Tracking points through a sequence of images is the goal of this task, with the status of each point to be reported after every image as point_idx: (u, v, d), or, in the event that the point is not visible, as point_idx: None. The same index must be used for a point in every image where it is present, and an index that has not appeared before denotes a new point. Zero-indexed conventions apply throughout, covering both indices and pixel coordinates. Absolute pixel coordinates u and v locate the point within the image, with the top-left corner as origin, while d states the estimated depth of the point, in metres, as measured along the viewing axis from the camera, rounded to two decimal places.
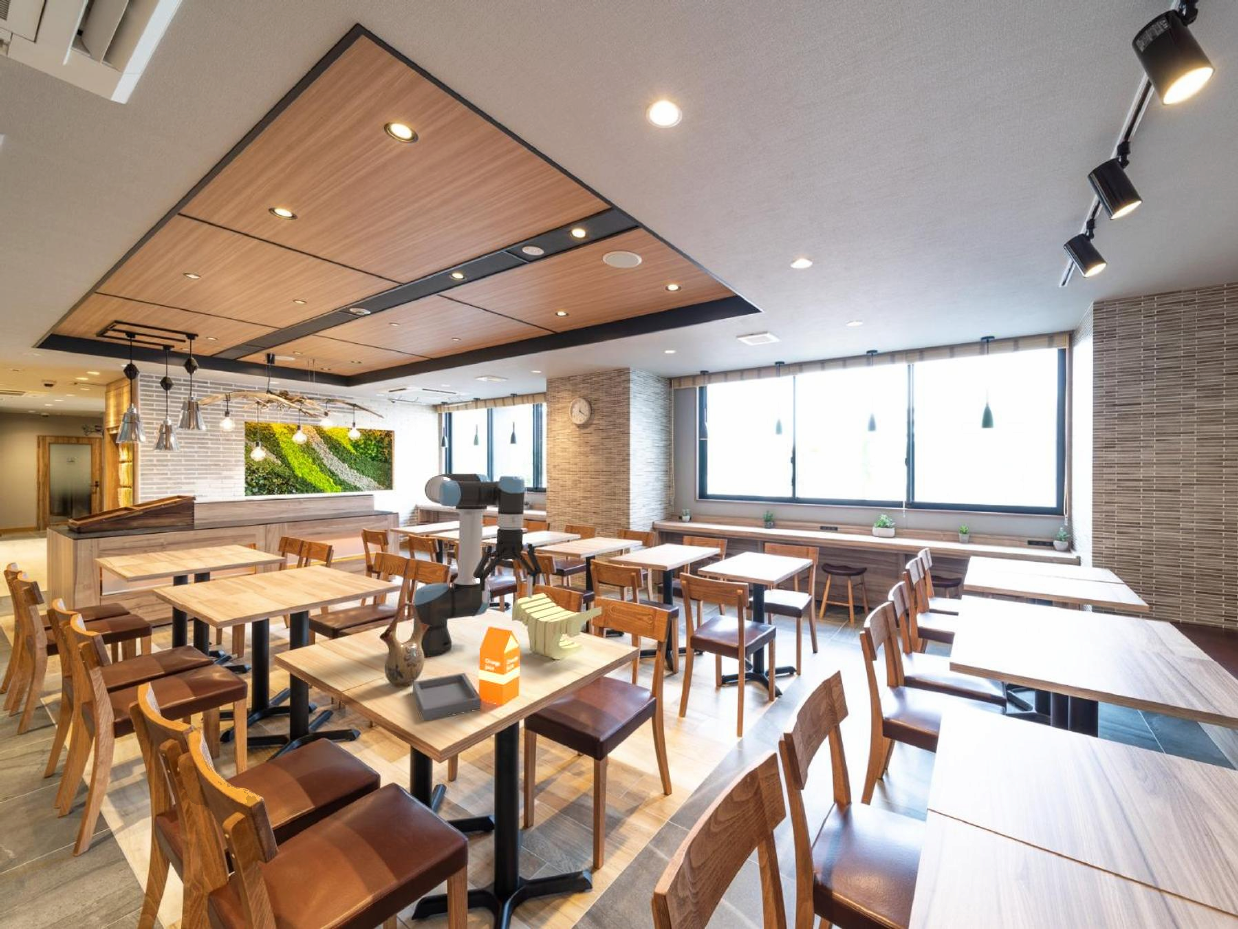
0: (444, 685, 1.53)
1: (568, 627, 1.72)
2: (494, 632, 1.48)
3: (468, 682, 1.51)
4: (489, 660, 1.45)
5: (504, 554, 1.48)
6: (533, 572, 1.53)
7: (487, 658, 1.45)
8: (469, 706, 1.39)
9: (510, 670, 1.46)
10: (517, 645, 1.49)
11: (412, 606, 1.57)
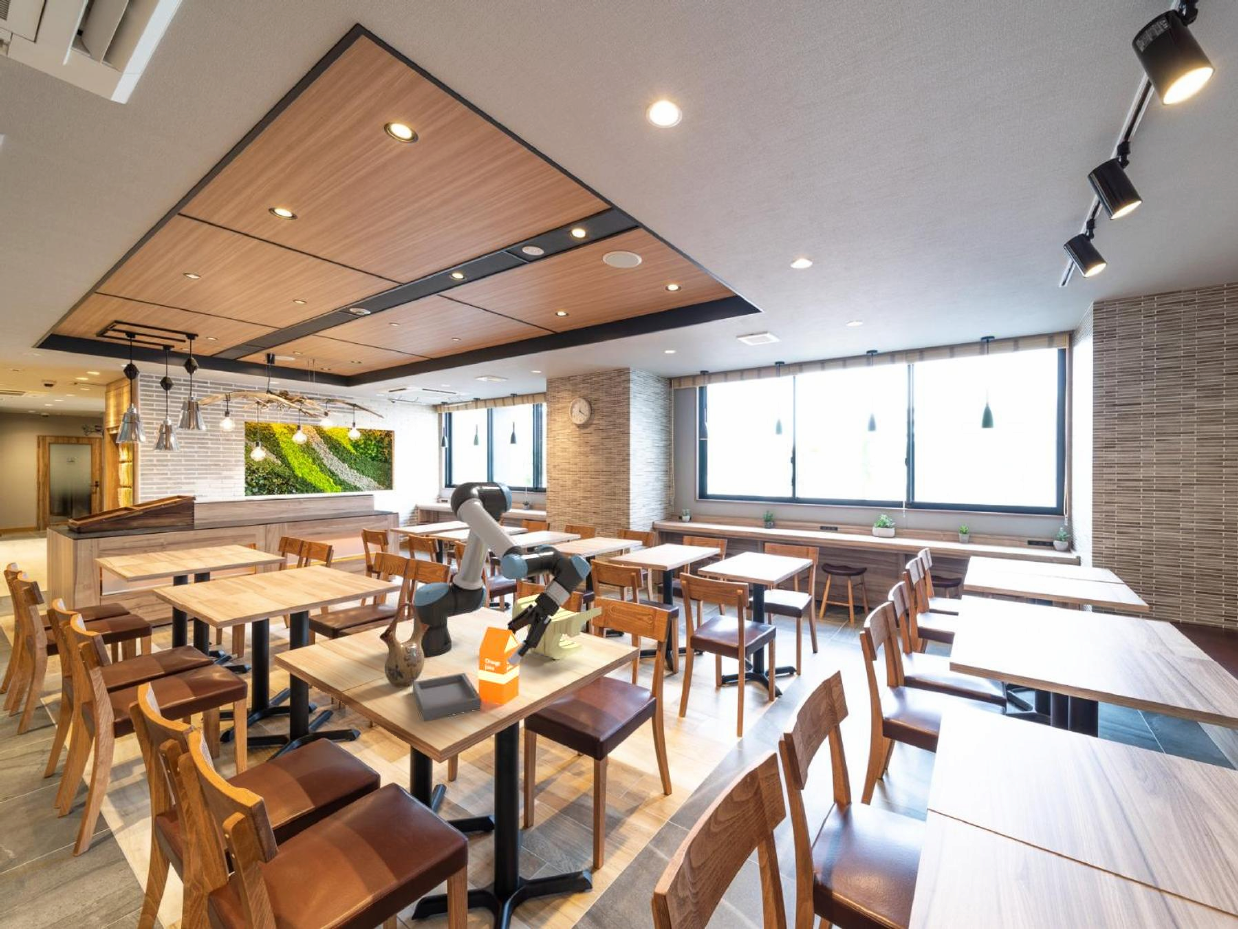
0: (444, 685, 1.53)
1: (568, 627, 1.72)
2: (493, 632, 1.48)
3: (468, 682, 1.51)
4: (489, 660, 1.45)
5: None
6: None
7: (487, 658, 1.45)
8: (469, 706, 1.39)
9: (510, 669, 1.46)
10: (516, 645, 1.49)
11: (412, 606, 1.57)
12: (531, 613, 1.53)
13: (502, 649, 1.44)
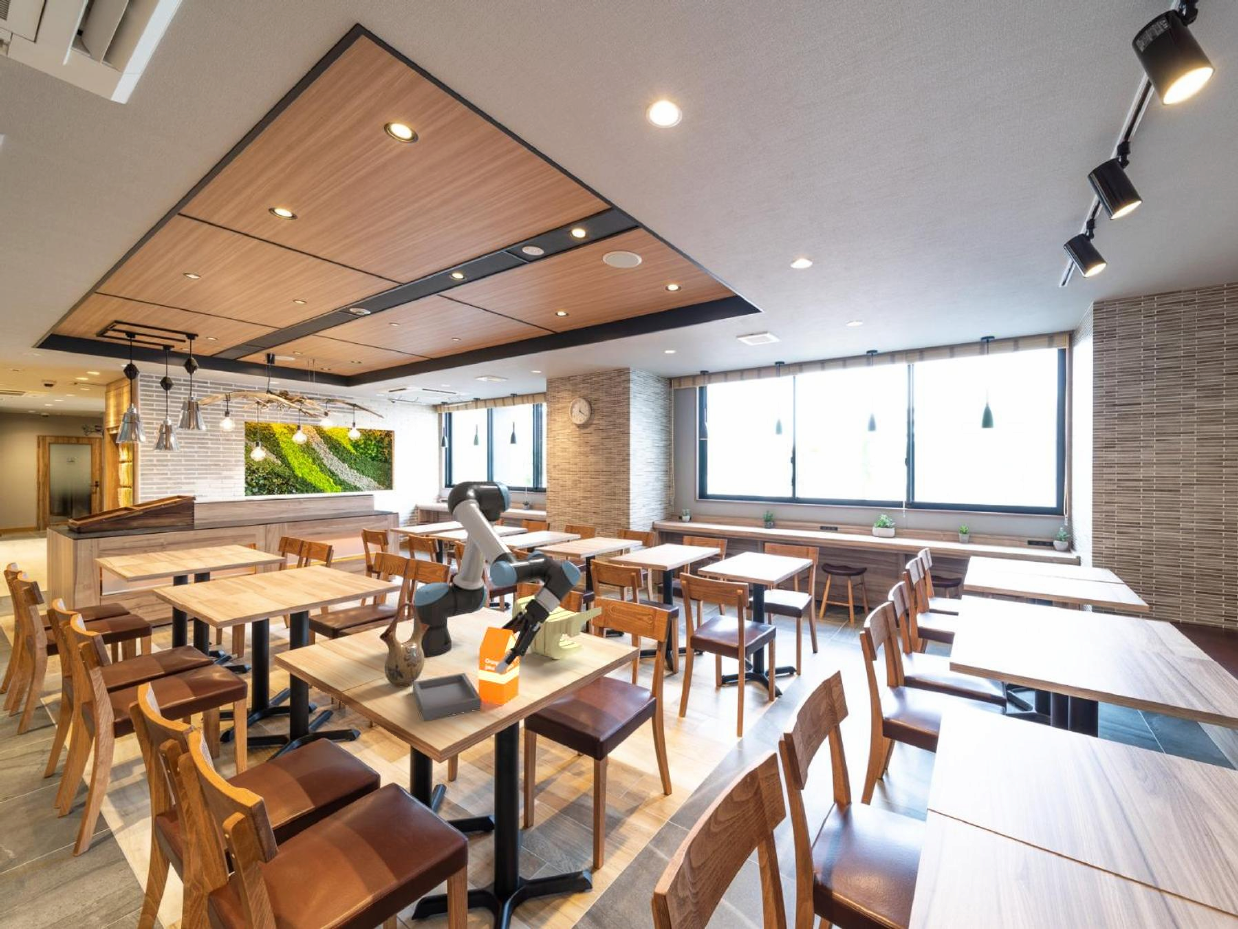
0: (444, 685, 1.53)
1: (568, 627, 1.72)
2: (494, 632, 1.48)
3: (468, 682, 1.51)
4: (489, 660, 1.45)
5: None
6: None
7: (487, 658, 1.46)
8: (469, 706, 1.39)
9: (510, 669, 1.46)
10: None
11: (412, 606, 1.57)
12: (521, 620, 1.53)
13: (502, 649, 1.44)
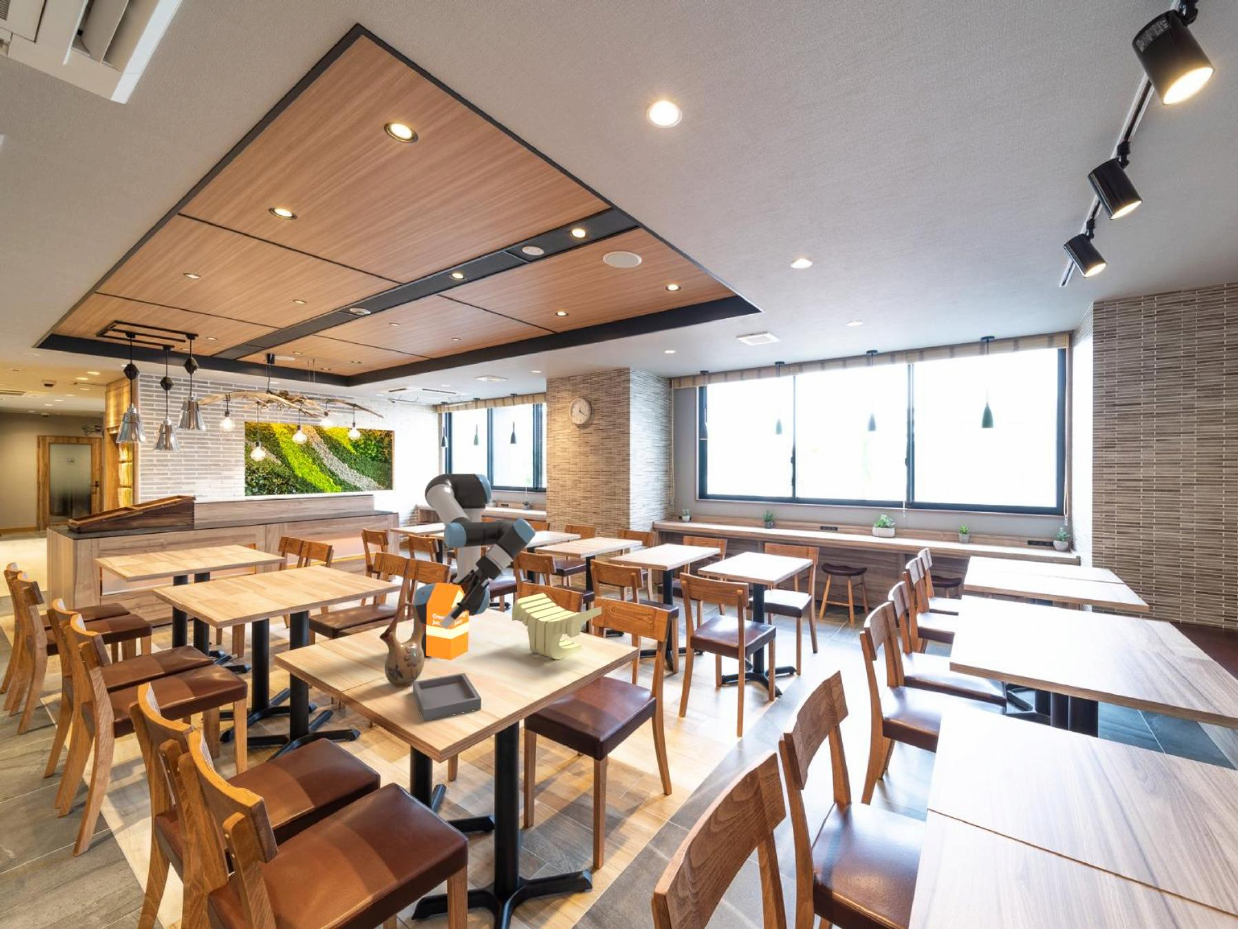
0: (444, 685, 1.53)
1: (568, 627, 1.72)
2: (442, 587, 1.46)
3: (468, 682, 1.51)
4: (436, 615, 1.43)
5: None
6: None
7: (434, 613, 1.43)
8: (469, 706, 1.39)
9: (459, 625, 1.44)
10: None
11: (412, 606, 1.57)
12: (471, 576, 1.50)
13: (450, 604, 1.42)
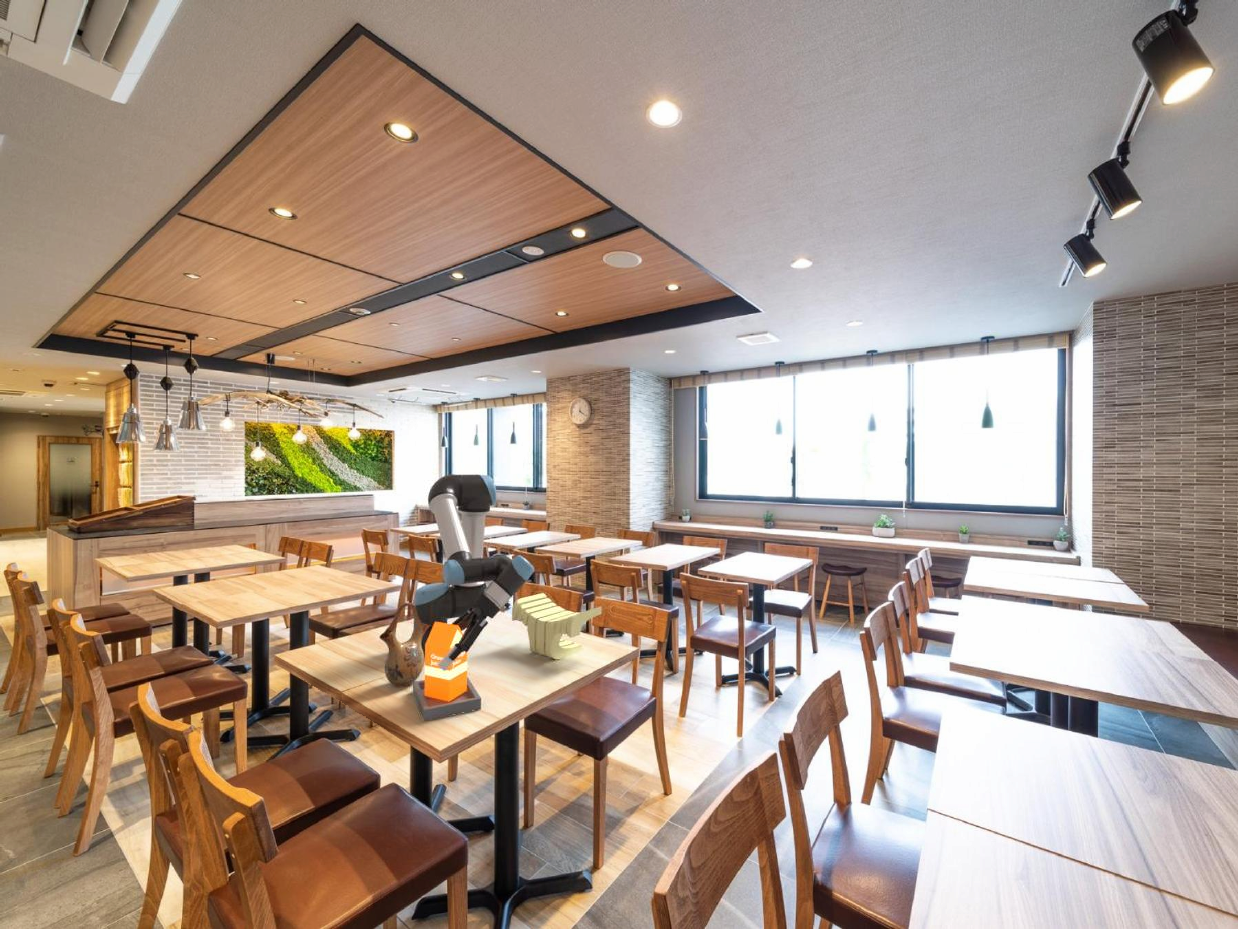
0: None
1: (568, 627, 1.72)
2: (440, 627, 1.46)
3: (468, 682, 1.51)
4: (435, 656, 1.43)
5: None
6: None
7: (433, 654, 1.43)
8: (469, 706, 1.39)
9: (457, 665, 1.44)
10: None
11: (412, 606, 1.57)
12: (470, 615, 1.50)
13: (448, 644, 1.42)
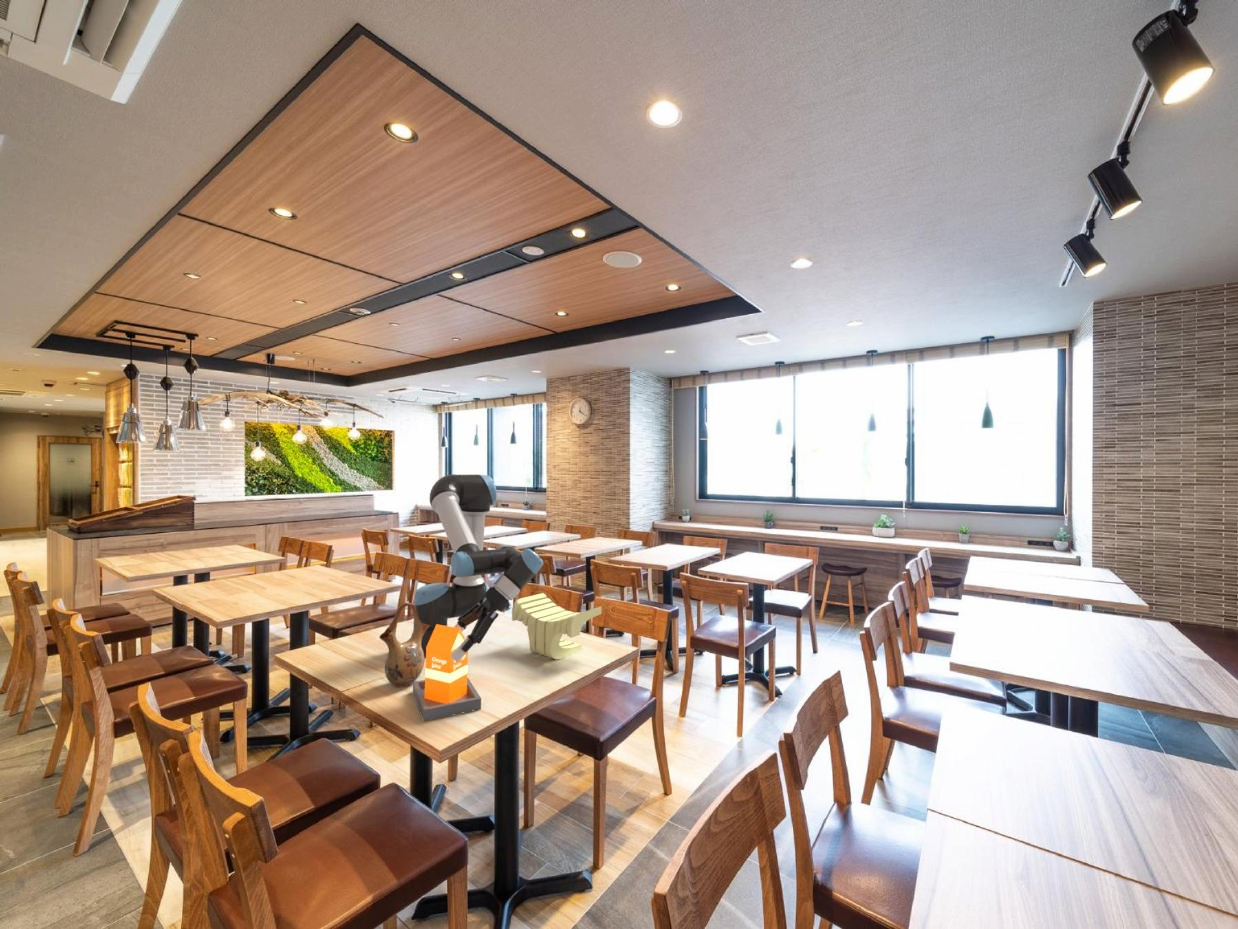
0: None
1: (568, 627, 1.72)
2: (442, 630, 1.46)
3: (468, 682, 1.51)
4: (436, 658, 1.43)
5: None
6: None
7: (434, 656, 1.43)
8: (469, 706, 1.39)
9: (458, 668, 1.44)
10: None
11: (412, 606, 1.57)
12: (480, 608, 1.51)
13: (449, 647, 1.42)
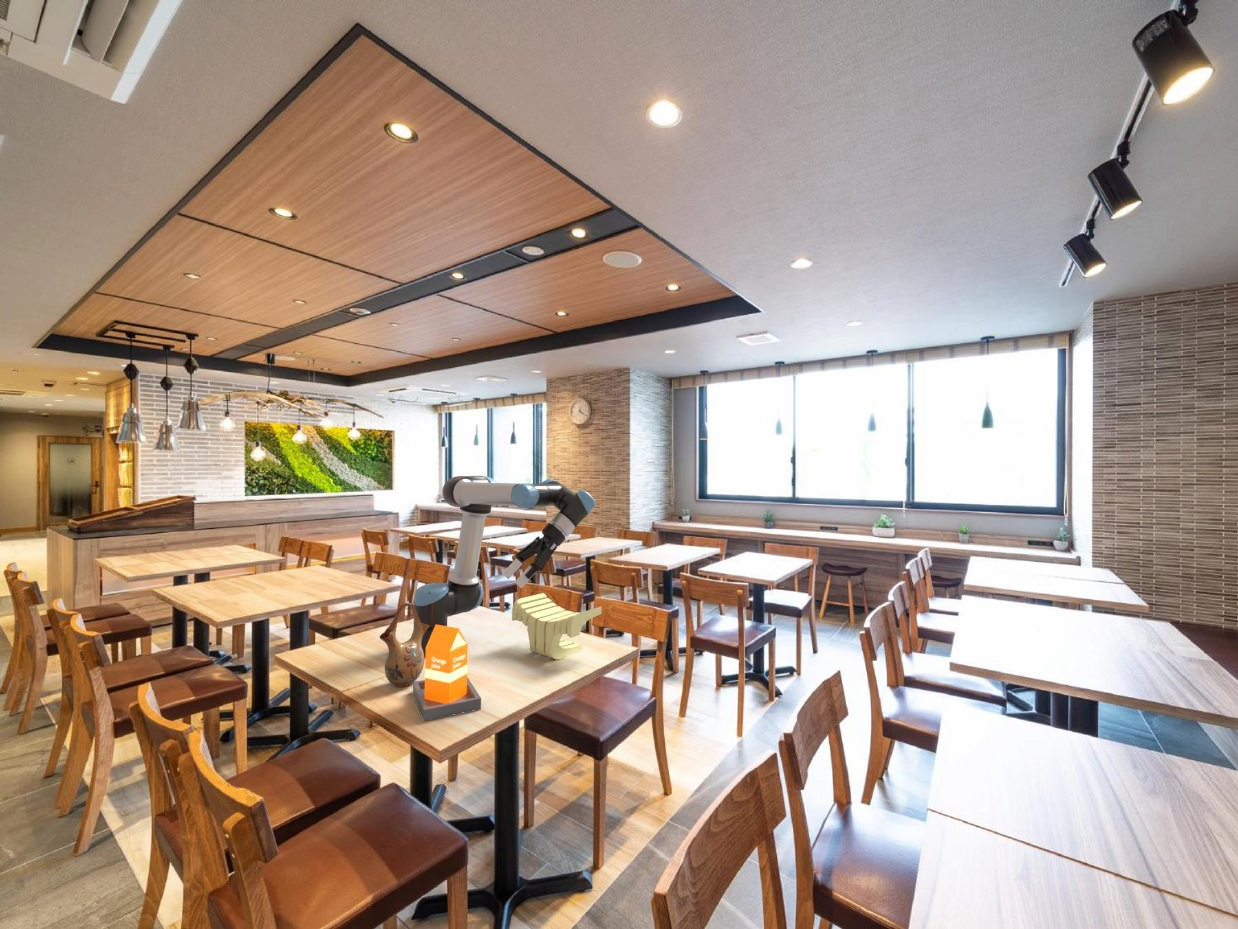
0: None
1: (568, 627, 1.72)
2: (441, 630, 1.46)
3: (468, 682, 1.51)
4: (435, 658, 1.43)
5: None
6: None
7: (433, 656, 1.43)
8: (469, 706, 1.39)
9: (457, 668, 1.44)
10: (465, 643, 1.47)
11: (412, 606, 1.57)
12: (538, 542, 1.62)
13: (448, 647, 1.42)
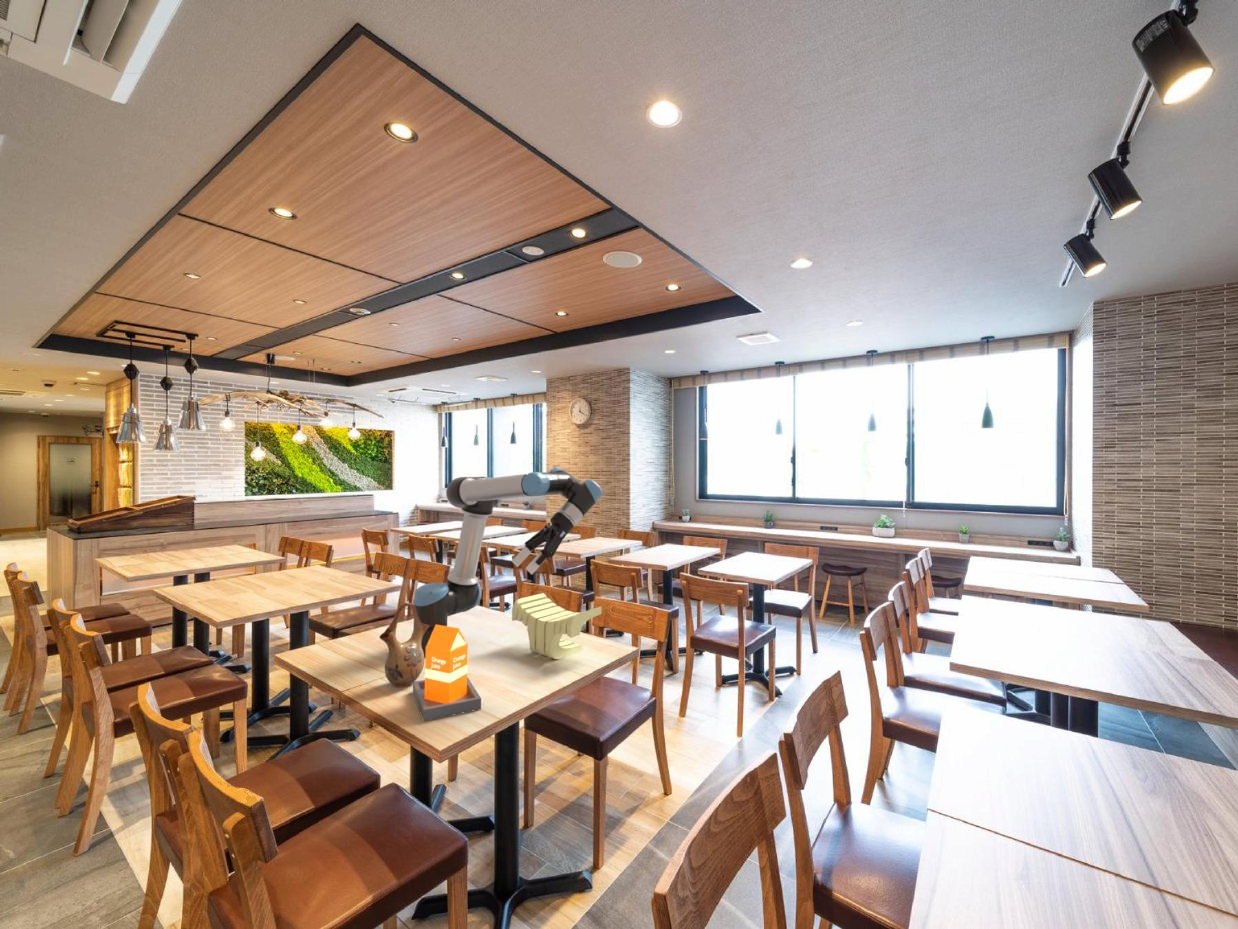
0: None
1: (568, 627, 1.72)
2: (441, 630, 1.46)
3: (468, 682, 1.51)
4: (435, 658, 1.43)
5: None
6: None
7: (433, 656, 1.43)
8: (469, 706, 1.39)
9: (457, 668, 1.44)
10: (465, 643, 1.47)
11: (412, 606, 1.57)
12: (547, 531, 1.65)
13: (448, 647, 1.42)
